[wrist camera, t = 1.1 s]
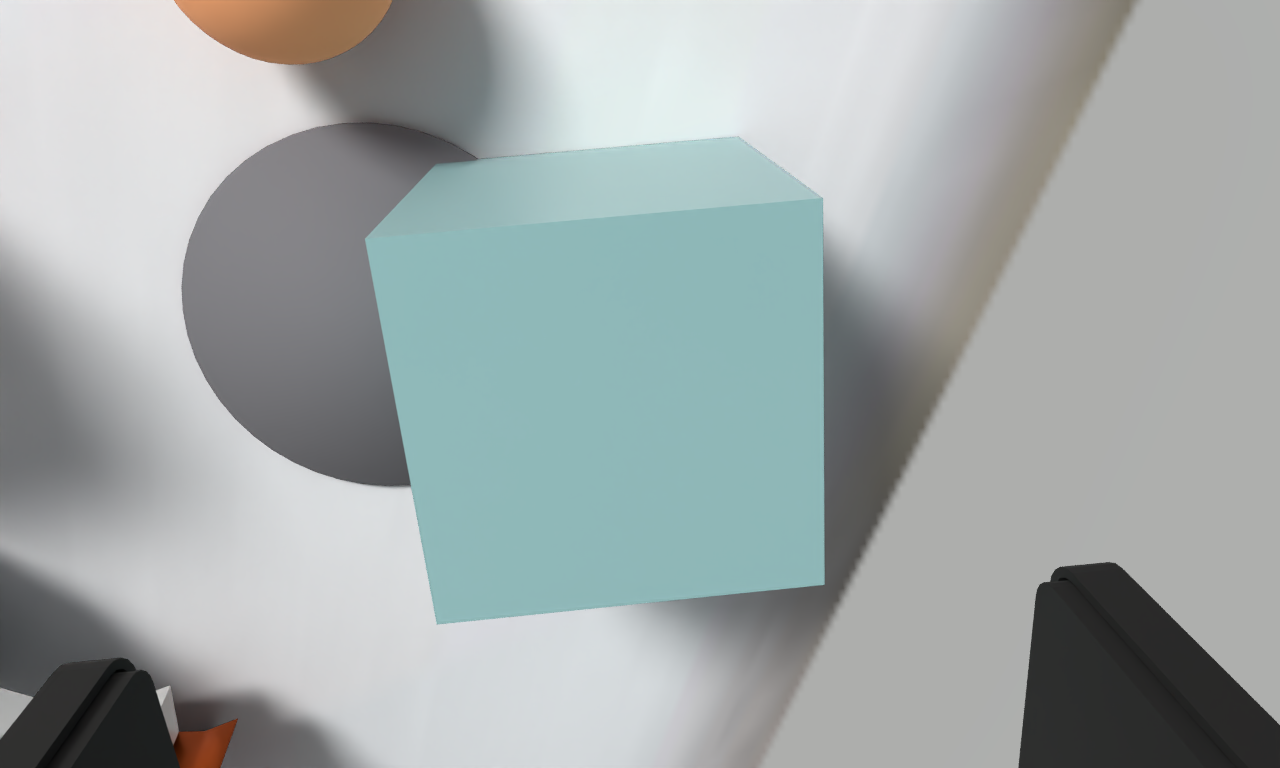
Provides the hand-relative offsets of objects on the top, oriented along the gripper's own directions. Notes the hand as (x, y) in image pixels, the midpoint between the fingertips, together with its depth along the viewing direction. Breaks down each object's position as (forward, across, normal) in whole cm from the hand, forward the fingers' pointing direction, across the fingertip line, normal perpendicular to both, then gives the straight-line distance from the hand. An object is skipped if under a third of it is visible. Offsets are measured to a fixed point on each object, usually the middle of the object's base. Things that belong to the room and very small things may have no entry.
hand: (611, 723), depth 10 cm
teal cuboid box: (+16, 0, 0) cm, 17 cm away
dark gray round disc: (+16, +6, 0) cm, 17 cm away
